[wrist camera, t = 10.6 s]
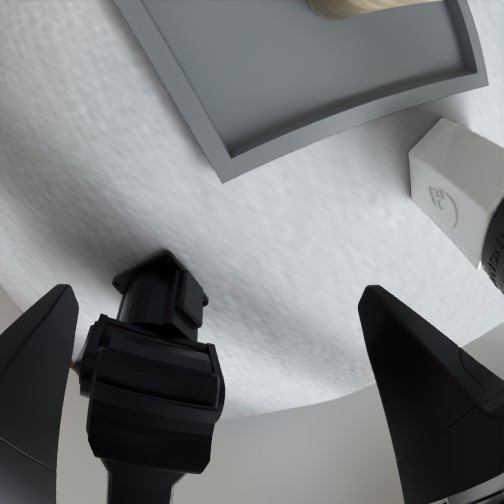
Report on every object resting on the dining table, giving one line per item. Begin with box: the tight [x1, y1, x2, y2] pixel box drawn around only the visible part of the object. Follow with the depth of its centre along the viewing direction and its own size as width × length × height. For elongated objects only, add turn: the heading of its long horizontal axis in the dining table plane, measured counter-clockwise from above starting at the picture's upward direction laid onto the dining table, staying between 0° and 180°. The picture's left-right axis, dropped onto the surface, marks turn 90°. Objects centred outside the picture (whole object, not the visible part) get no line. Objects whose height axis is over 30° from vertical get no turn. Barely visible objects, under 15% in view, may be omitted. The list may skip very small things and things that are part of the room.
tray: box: [114, 0, 489, 184], centre depth 12 cm, size 22×16×2 cm
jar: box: [408, 118, 504, 294], centre depth 15 cm, size 9×8×12 cm
